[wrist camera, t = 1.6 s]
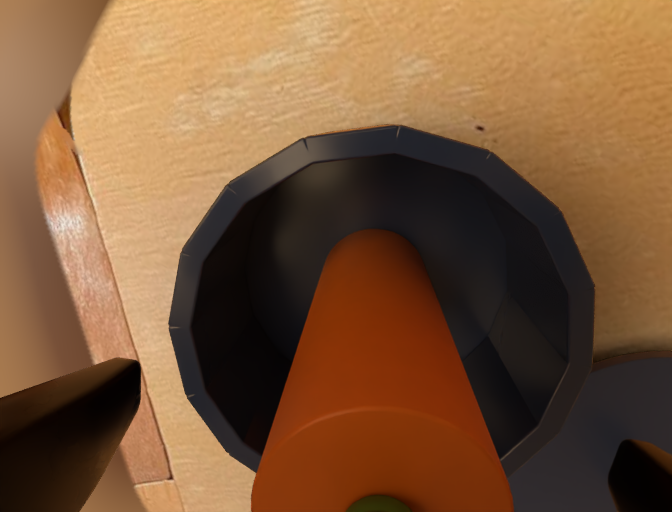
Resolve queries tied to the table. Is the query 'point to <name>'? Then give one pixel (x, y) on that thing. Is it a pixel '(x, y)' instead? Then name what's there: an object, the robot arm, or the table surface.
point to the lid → (599, 435)
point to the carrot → (378, 398)
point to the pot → (440, 262)
